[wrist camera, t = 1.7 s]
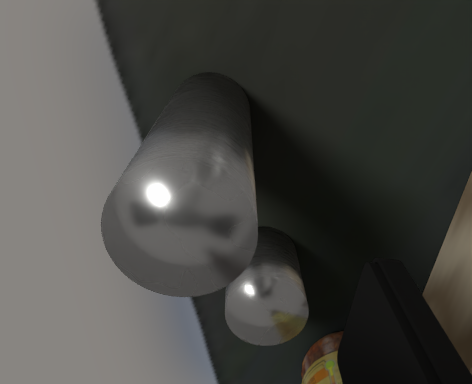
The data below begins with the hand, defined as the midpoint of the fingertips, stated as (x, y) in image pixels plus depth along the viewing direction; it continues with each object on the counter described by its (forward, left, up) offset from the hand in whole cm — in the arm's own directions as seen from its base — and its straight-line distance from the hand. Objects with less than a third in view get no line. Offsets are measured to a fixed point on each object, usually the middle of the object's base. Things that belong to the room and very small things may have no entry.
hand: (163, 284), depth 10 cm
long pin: (-1, 0, -13) cm, 13 cm away
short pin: (+7, +4, -13) cm, 16 cm away
